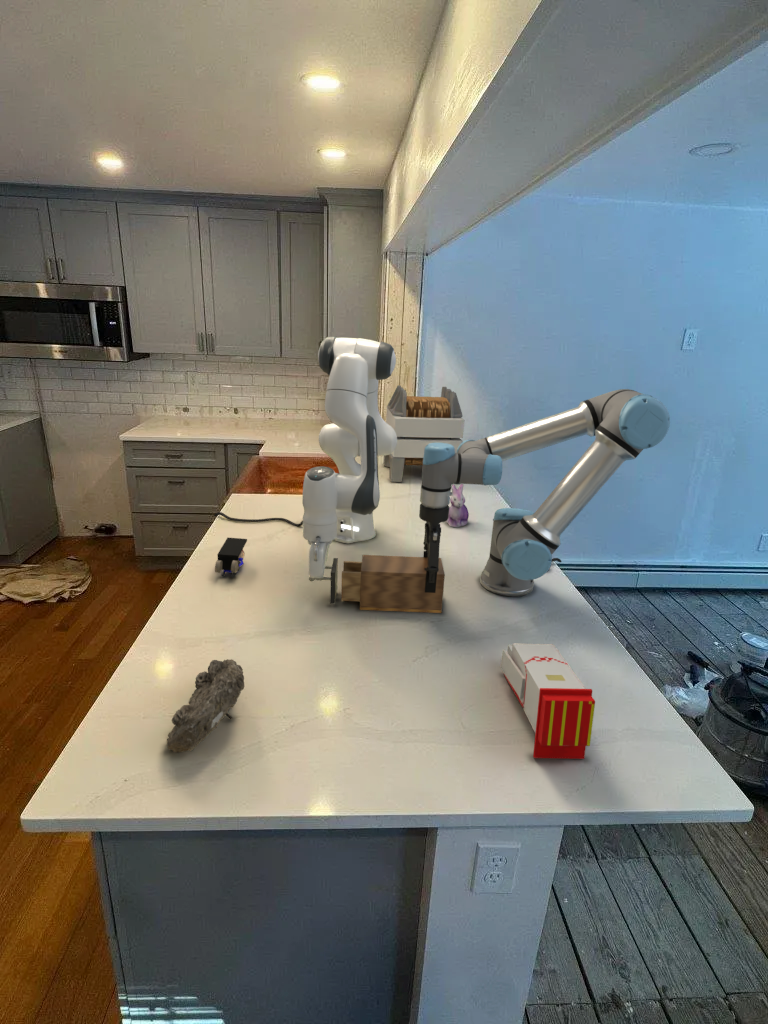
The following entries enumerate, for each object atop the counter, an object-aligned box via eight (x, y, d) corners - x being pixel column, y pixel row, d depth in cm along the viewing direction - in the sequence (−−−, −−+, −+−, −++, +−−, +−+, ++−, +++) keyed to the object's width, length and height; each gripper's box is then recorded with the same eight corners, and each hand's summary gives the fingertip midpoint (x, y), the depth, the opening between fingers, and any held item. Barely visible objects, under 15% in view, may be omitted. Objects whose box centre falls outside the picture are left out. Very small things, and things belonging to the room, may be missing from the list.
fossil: (192, 660, 117) (244, 628, 112) (224, 691, 120) (276, 661, 115) (142, 746, 98) (202, 712, 93) (182, 779, 101) (242, 748, 96)
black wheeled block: (238, 584, 162) (249, 557, 175) (236, 562, 158) (247, 536, 172) (215, 584, 161) (227, 556, 175) (212, 561, 158) (225, 535, 171)
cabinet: (359, 609, 149) (360, 571, 145) (361, 591, 158) (362, 554, 155) (441, 612, 149) (444, 574, 145) (438, 594, 159) (441, 557, 155)
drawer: (308, 602, 149) (308, 571, 146) (312, 586, 157) (312, 556, 154) (406, 606, 149) (408, 575, 146) (405, 590, 158) (407, 560, 155)
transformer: (382, 463, 289) (386, 382, 275) (445, 464, 293) (451, 384, 279) (390, 482, 257) (394, 392, 243) (460, 483, 261) (468, 394, 247)
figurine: (454, 529, 206) (457, 490, 201) (439, 520, 214) (442, 482, 209) (475, 526, 210) (479, 487, 205) (459, 517, 218) (463, 479, 213)
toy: (549, 626, 126) (605, 697, 97) (544, 681, 129) (596, 766, 100) (495, 625, 126) (534, 696, 96) (491, 680, 128) (528, 765, 99)
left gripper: (328, 546, 137) (328, 597, 142) (334, 516, 156) (334, 562, 161) (302, 545, 137) (303, 596, 141) (311, 516, 156) (312, 561, 161)
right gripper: (454, 520, 133) (446, 603, 141) (445, 491, 155) (438, 564, 162) (422, 519, 133) (416, 602, 141) (417, 489, 155) (412, 563, 162)
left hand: (319, 578), depth 151 cm, fingers closed, pressing on drawer
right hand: (428, 582), depth 152 cm, fingers closed on cabinet, 10 cm apart
